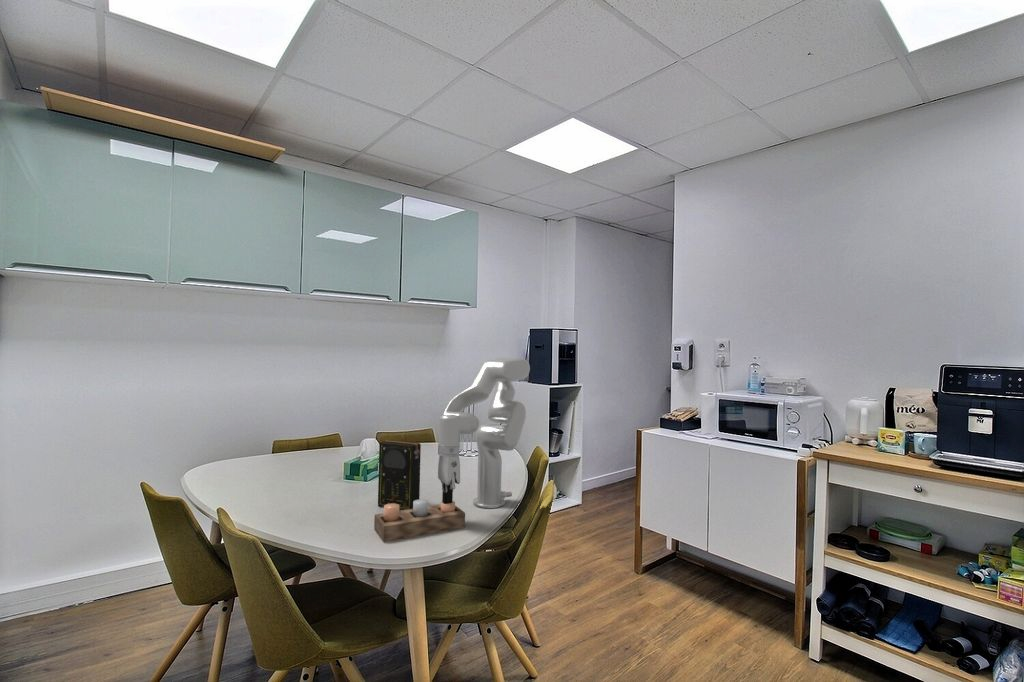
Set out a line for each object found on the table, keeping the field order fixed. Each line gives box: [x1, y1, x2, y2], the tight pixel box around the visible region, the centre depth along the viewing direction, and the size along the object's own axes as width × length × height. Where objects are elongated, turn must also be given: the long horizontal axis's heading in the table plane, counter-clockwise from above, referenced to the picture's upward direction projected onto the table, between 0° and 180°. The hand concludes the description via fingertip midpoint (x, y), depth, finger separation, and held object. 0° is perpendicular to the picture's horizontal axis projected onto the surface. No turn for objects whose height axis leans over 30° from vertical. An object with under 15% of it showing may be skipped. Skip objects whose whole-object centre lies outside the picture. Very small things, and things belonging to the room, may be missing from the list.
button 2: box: [440, 500, 456, 513], centre depth 167 cm, size 5×5×5 cm
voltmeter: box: [377, 439, 422, 511], centre depth 184 cm, size 16×9×25 cm, turn 70°
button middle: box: [413, 498, 429, 518], centre depth 162 cm, size 5×5×5 cm
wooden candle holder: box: [373, 504, 466, 543], centre depth 162 cm, size 28×12×5 cm, turn 120°
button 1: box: [383, 503, 400, 523], centre depth 157 cm, size 5×5×5 cm
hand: (447, 502), depth 167 cm, fingers closed
